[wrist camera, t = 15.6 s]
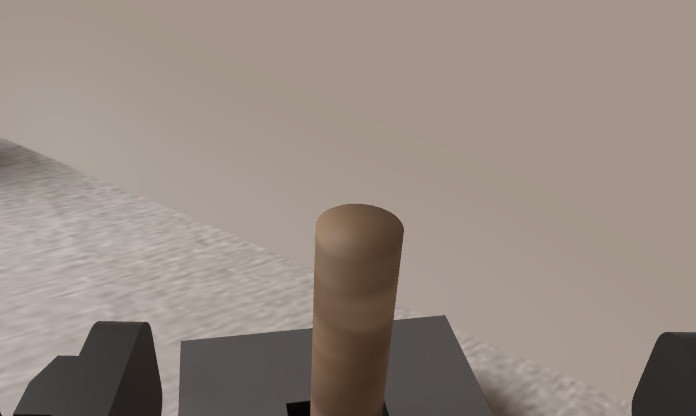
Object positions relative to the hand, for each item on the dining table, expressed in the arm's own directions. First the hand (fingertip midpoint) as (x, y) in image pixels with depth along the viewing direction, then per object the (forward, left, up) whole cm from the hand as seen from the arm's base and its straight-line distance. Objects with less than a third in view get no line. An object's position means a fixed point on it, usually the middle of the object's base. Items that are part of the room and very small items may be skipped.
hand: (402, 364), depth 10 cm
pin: (-2, -11, -20) cm, 23 cm away
